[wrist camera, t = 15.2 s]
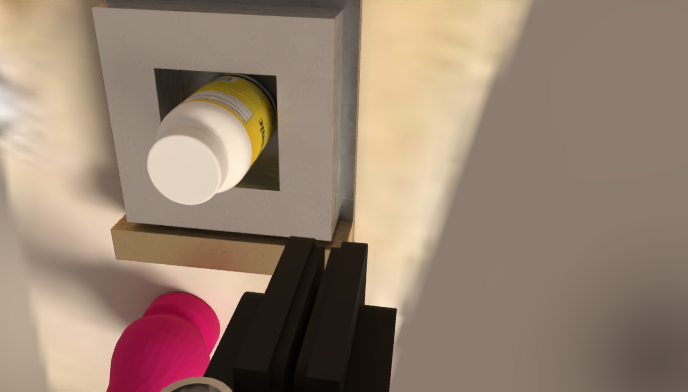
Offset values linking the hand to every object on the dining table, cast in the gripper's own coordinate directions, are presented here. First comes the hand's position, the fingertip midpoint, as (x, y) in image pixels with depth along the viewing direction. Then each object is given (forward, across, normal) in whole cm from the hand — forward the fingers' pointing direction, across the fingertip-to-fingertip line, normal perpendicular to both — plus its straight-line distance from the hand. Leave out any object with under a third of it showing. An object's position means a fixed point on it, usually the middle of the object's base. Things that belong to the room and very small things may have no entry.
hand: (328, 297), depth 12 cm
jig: (+26, +10, +5) cm, 29 cm away
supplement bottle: (+26, +10, +5) cm, 28 cm away
